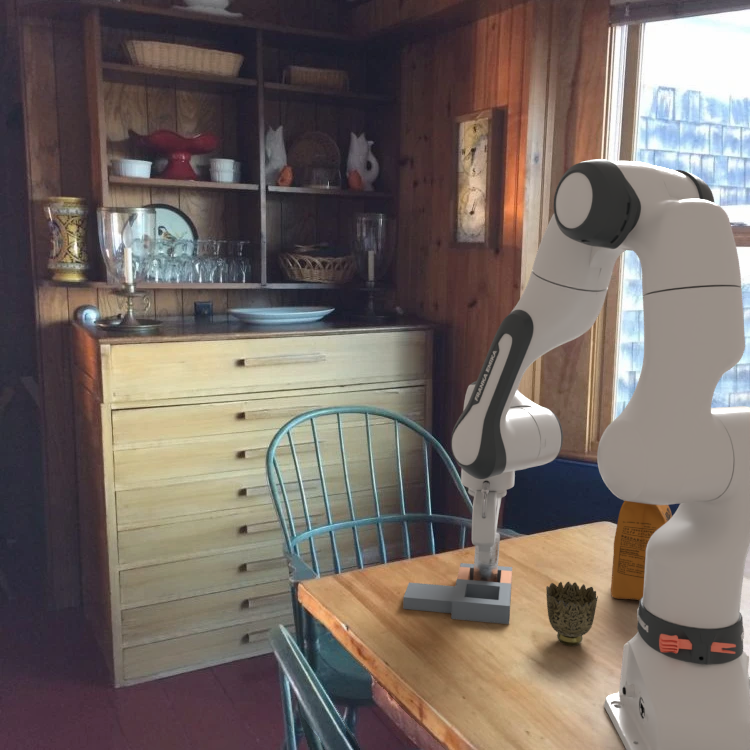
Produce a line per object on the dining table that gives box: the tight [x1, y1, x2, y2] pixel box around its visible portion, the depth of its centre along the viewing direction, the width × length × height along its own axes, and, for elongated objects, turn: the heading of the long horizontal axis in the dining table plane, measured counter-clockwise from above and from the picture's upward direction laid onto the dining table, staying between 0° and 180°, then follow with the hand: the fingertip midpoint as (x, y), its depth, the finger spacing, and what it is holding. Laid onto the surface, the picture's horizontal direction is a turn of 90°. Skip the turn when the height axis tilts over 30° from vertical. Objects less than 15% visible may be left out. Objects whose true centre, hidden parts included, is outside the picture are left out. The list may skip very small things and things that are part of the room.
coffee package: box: [610, 500, 673, 602], centre depth 135 cm, size 10×12×22 cm
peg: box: [473, 531, 501, 582], centre depth 135 cm, size 4×4×10 cm
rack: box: [402, 562, 513, 625], centre depth 133 cm, size 16×17×3 cm
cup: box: [545, 581, 599, 647], centre depth 118 cm, size 8×7×8 cm
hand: (485, 553), depth 135 cm, fingers open, 5 cm apart
